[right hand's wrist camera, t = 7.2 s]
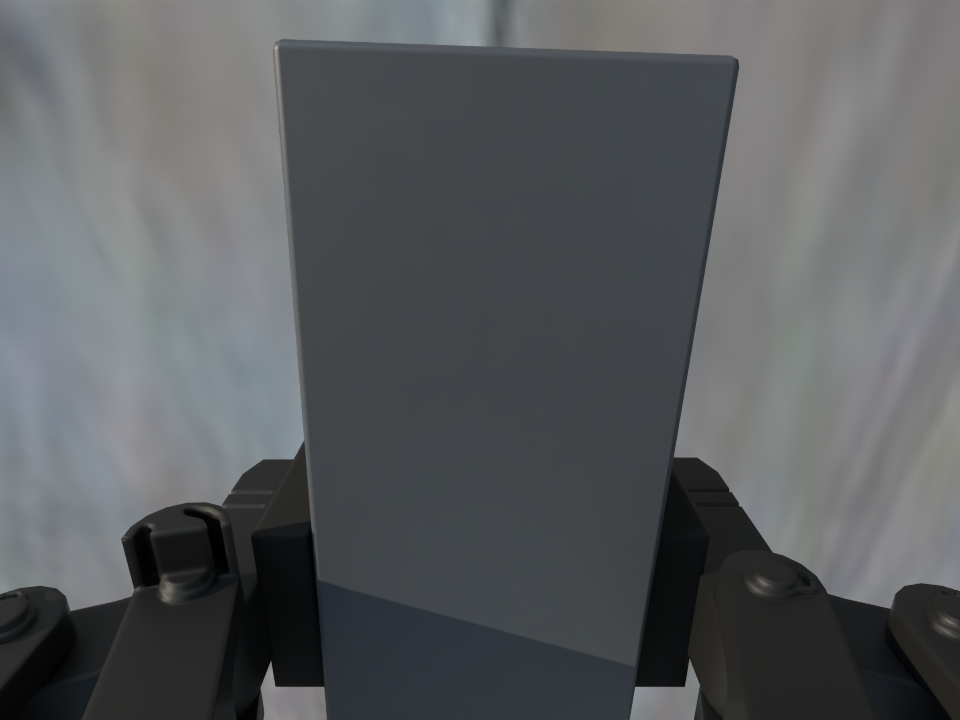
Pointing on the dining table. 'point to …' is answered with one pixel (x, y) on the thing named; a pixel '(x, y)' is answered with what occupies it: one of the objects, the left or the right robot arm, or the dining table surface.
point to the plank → (492, 359)
